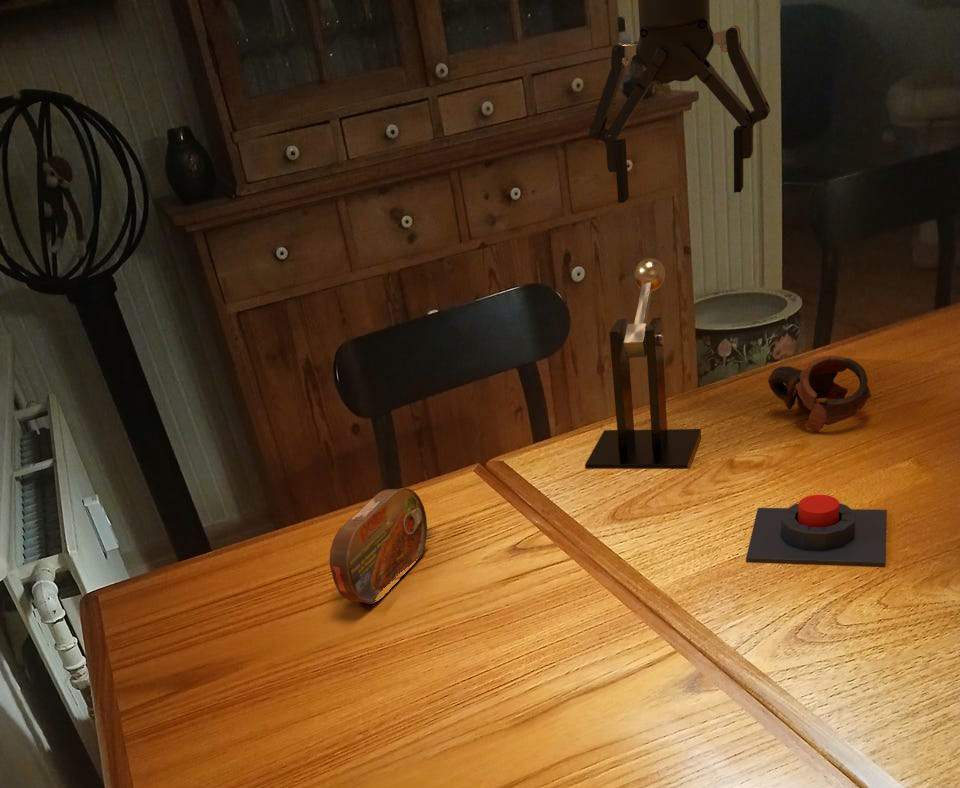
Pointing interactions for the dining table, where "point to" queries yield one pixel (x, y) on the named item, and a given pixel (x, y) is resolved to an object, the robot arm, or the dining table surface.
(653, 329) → the bracket
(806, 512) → the button
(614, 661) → the dining table surface
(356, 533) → the tin
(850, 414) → the pottery mug
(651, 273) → the lever
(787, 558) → the button box
